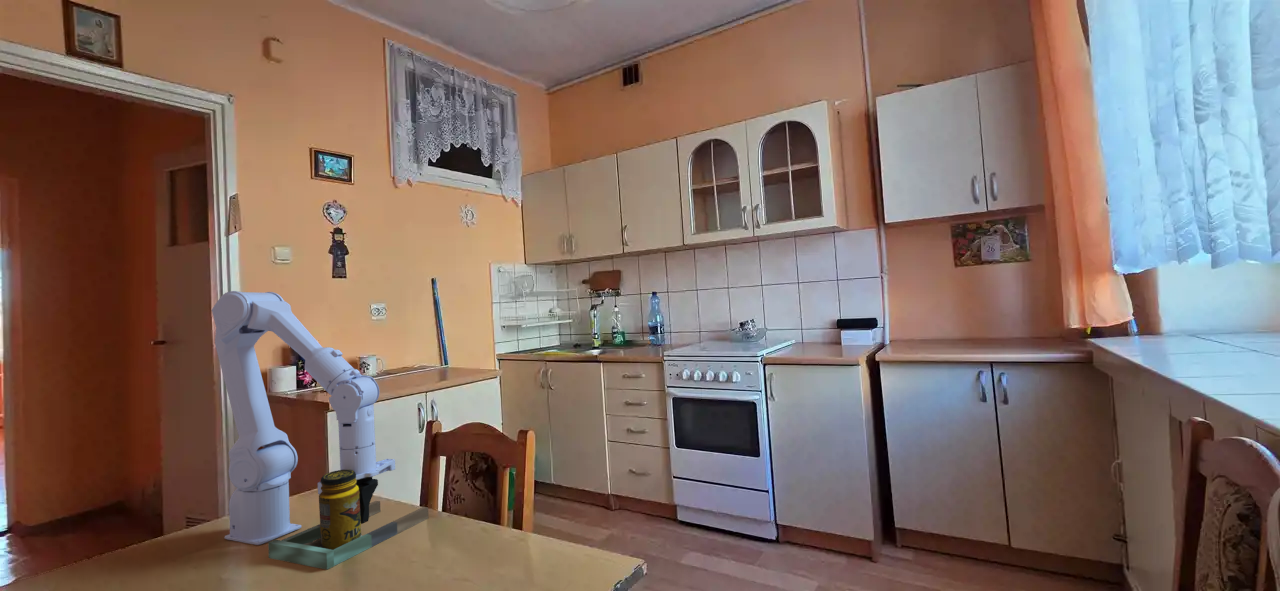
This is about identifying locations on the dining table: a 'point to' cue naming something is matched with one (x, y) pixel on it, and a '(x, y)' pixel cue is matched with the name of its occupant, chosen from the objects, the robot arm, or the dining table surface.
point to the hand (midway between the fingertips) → (361, 522)
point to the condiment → (338, 510)
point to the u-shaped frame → (327, 558)
